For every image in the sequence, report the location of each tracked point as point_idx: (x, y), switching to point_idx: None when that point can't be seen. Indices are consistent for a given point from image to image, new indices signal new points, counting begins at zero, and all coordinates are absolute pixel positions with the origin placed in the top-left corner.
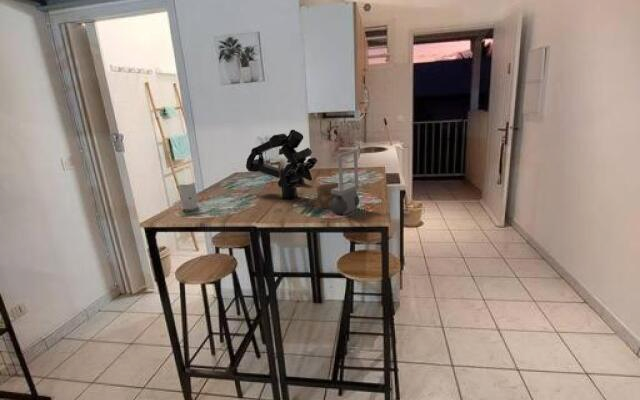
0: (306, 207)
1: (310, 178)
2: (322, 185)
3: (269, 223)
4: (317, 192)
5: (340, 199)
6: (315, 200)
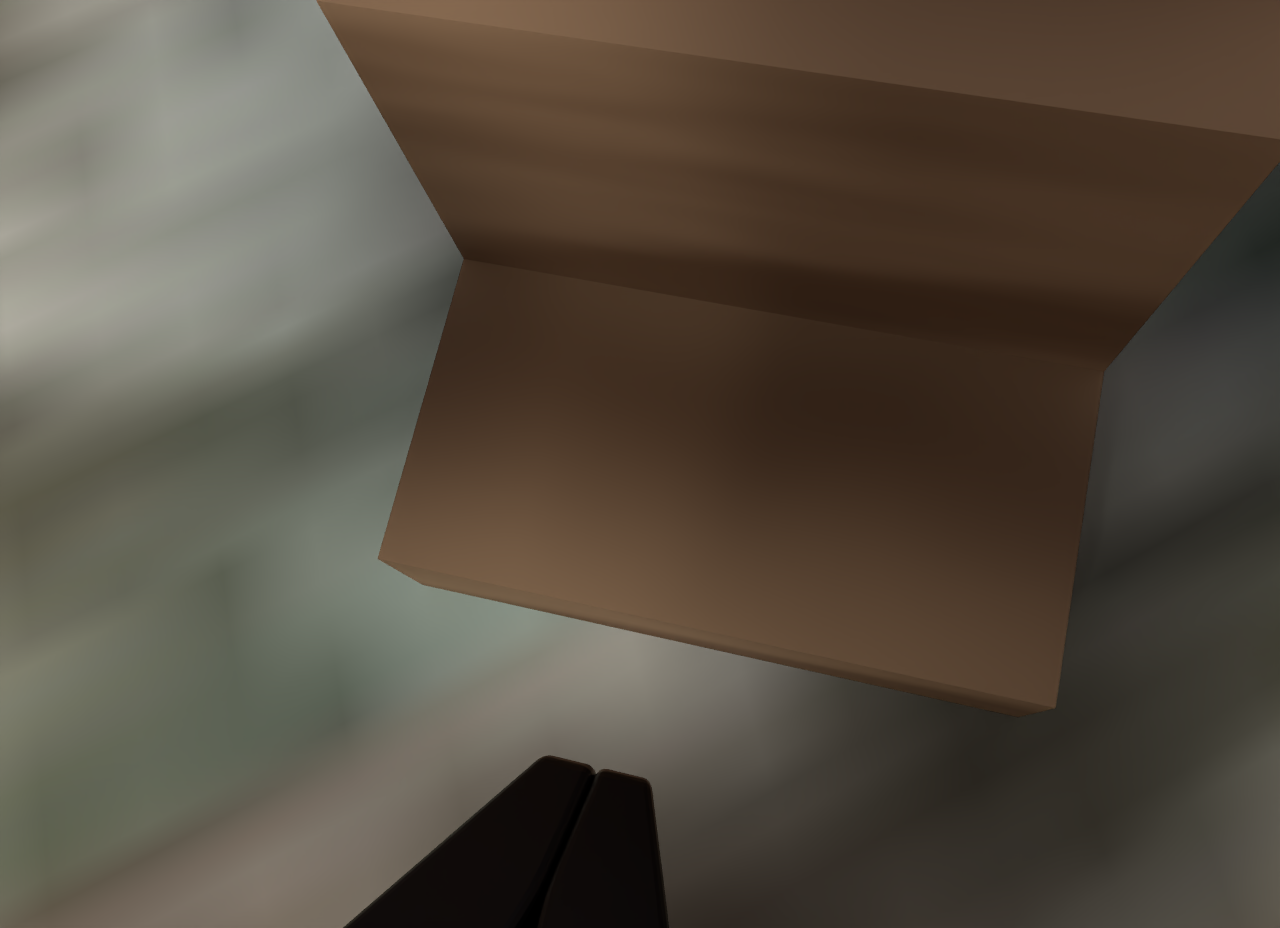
0: (1254, 693)
1: (648, 817)
2: (976, 32)
3: None
4: (1207, 235)
5: None
6: (1048, 479)
